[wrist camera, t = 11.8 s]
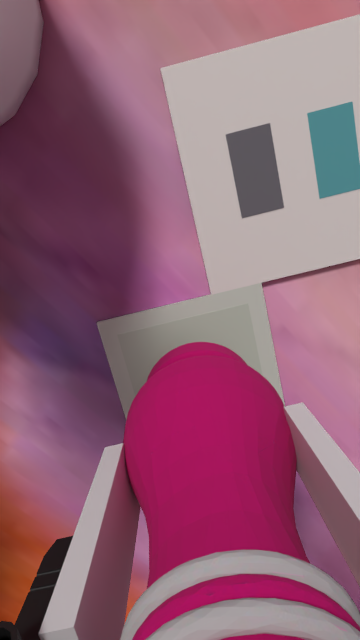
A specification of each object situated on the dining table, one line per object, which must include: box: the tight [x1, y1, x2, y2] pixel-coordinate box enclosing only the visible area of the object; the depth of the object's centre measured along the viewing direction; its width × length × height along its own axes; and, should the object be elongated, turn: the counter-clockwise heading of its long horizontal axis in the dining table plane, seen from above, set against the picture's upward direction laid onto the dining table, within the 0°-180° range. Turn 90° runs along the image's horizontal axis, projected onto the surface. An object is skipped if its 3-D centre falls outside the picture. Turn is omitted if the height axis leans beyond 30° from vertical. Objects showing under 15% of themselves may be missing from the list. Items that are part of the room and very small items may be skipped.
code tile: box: [160, 14, 360, 295], centre depth 18 cm, size 12×12×1 cm
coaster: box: [97, 283, 285, 420], centre depth 21 cm, size 10×10×1 cm
